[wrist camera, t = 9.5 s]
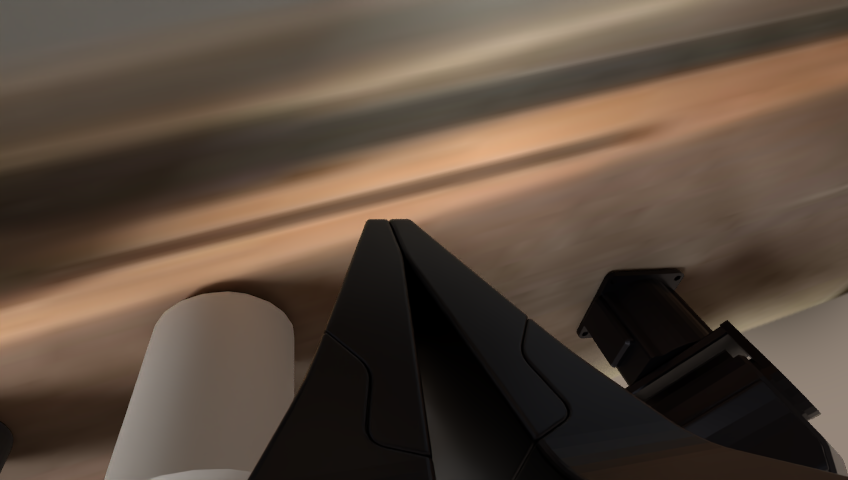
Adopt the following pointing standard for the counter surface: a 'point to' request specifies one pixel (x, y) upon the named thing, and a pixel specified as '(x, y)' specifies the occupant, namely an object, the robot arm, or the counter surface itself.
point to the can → (207, 391)
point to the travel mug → (4, 444)
